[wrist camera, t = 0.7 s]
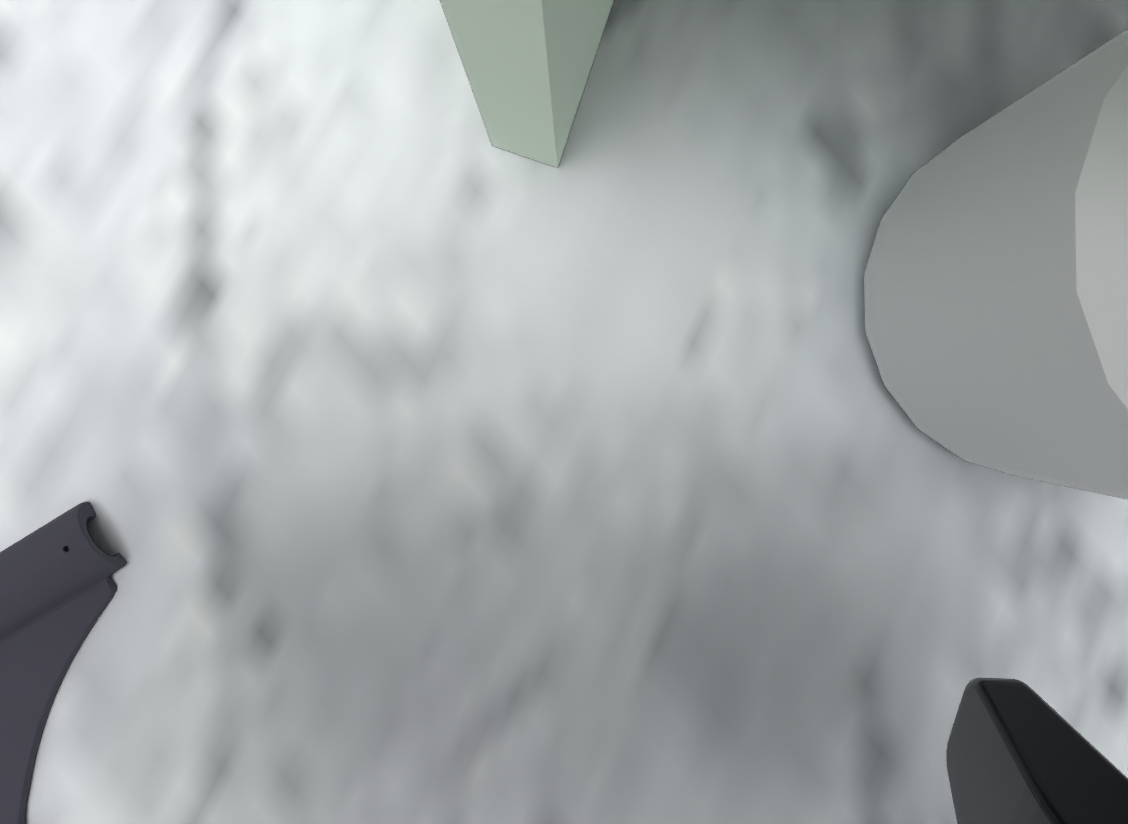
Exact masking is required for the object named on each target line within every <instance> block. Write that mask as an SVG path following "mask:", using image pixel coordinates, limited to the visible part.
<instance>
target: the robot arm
mask: <svg viewBox="0 0 1128 824" xmlns="http://www.w3.org/2000/svg"><path fill="white" fill-rule="evenodd" d="M946 759H947V770H948V776H949V781H950V787H951V792H952V797H953V803H954V808H955V814H956V819H957V824H1128V778H1127V777H1126V776H1125V775H1124V774H1123V773H1121V772H1120V771H1119V770H1118V769H1117V768H1116V767H1115V766H1114V765H1113V764H1112V763H1111V762H1110V761H1109V760H1107V759H1106V758H1105V757H1104V756H1103V755H1102V754H1101V753H1100V752H1099V751H1098V750H1097V749H1096V748H1095V747H1094V746H1092V745H1091V744H1090V743H1089V742H1088V741H1087V740H1086V739H1085V738H1084V737H1083V736H1082V735H1081V734H1080V733H1078V732H1077V731H1076V730H1075V729H1074V728H1073V727H1072V726H1071V725H1070V724H1069V723H1068V722H1067V721H1066V720H1064V719H1063V718H1062V717H1061V716H1060V715H1059V714H1058V713H1057V712H1056V711H1055V710H1054V709H1053V708H1052V707H1050V706H1049V705H1048V704H1047V703H1046V702H1045V701H1044V700H1043V699H1042V698H1041V697H1040V696H1039V695H1038V694H1036V693H1035V692H1034V691H1033V690H1032V689H1031V688H1030V687H1029V686H1028V685H1026V684H1025V683H1023V682H1021V681H1019V680H1016V679H1000V678H975V679H972V680H971V681H970V682H969V683H968V684H967V686H966V688H965V690H964V693H963V696H962V699H961V702H960V705H959V708H958V712H957V715H956V718H955V721H954V724H953V727H952V730H951V733H950V737H949V740H948V744H947V758H946Z"/></svg>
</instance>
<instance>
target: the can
mask: <svg viewBox="0 0 1128 824" xmlns="http://www.w3.org/2000/svg"><path fill="white" fill-rule="evenodd" d="M864 294H865V332H866V335H867V338H868V341H869V343H870V346H871V349H872V352H873V355H874V358H875V361H876V363H877V366H878V369H879V372H880V375H881V378H882V381H883V383H884V385H885V387H886V388H887V389H888V390H889V392H890V393H891V394H892V396H893V397H894V398H895V400H896V401H897V402H898V404H899V405H900V406H901V407H902V409H903V410H904V411H905V413H906V414H907V415H908V417H909V418H910V419H911V421H912V422H913V423H914V424H915V426H916V427H917V428H918V429H919V430H920V431H922V432H923V433H925V434H926V435H928V436H929V437H930V438H932V439H933V440H935V441H936V442H938V443H939V444H941V445H942V446H944V447H945V448H946V449H948V450H949V451H951V452H952V453H954V454H955V455H957V456H958V457H960V458H961V459H963V460H964V461H967V462H970V463H974V464H977V465H981V466H984V467H987V468H991V469H994V470H998V471H1001V472H1004V473H1008V474H1011V475H1015V476H1018V477H1023V478H1027V479H1032V480H1037V481H1042V482H1047V483H1051V484H1056V485H1061V486H1066V487H1071V488H1075V489H1080V490H1085V491H1090V492H1095V493H1099V494H1104V495H1109V496H1114V497H1119V498H1123V499H1128V29H1127V30H1125V31H1124V32H1122V33H1120V34H1119V35H1117V36H1116V37H1114V38H1113V39H1111V40H1110V41H1108V42H1107V43H1105V44H1104V45H1102V46H1100V47H1099V48H1097V49H1096V50H1094V51H1093V52H1091V53H1090V54H1088V55H1087V56H1085V57H1083V58H1082V59H1080V60H1079V61H1077V62H1076V63H1074V64H1073V65H1071V66H1070V67H1068V68H1067V69H1065V70H1063V71H1062V72H1060V73H1059V74H1057V75H1056V76H1054V77H1053V78H1051V79H1050V80H1048V81H1047V82H1045V83H1043V84H1042V85H1040V86H1039V87H1037V88H1036V89H1034V90H1033V91H1031V92H1030V93H1028V94H1026V95H1025V96H1023V97H1022V98H1020V99H1019V100H1017V101H1016V102H1014V103H1013V104H1011V105H1010V106H1008V107H1006V108H1005V109H1003V110H1002V111H1000V112H999V113H997V114H996V115H994V116H993V117H991V118H990V119H988V120H986V121H985V122H983V123H982V124H980V125H979V126H977V127H976V128H974V129H973V130H971V131H969V132H968V133H966V134H965V135H963V136H962V137H960V138H959V139H957V140H956V141H955V142H953V143H952V144H951V145H950V146H948V147H947V148H946V149H944V150H943V151H942V152H940V153H939V154H938V155H937V156H935V157H934V158H933V159H931V160H930V161H929V162H927V163H926V164H925V165H923V166H922V167H921V168H920V169H918V170H917V171H916V172H914V173H913V174H912V176H911V177H910V179H909V180H908V181H907V183H906V184H905V186H904V187H903V189H902V190H901V192H900V193H899V195H898V196H897V197H896V199H895V200H894V202H893V203H892V205H891V206H890V208H889V209H888V210H887V212H886V213H885V215H884V216H883V218H882V219H881V221H880V224H879V227H878V231H877V234H876V237H875V240H874V244H873V247H872V250H871V254H870V257H869V260H868V264H867V267H866V270H865V274H864Z"/></svg>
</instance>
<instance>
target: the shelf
mask: <svg viewBox="0 0 1128 824" xmlns="http://www.w3.org/2000/svg"><path fill="white" fill-rule="evenodd" d="M613 2H614V0H440V3H441V6H442V8H443V11H444V14H445V17H446V19H447V22H448V25H449V28H450V31H451V33H452V36H453V39H454V42H455V44H456V47H457V50H458V53H459V55H460V58H461V61H462V64H463V67H464V69H465V72H466V75H467V78H468V80H469V83H470V86H471V89H472V92H473V94H474V97H475V100H476V103H477V105H478V108H479V111H480V114H481V117H482V119H483V122H484V125H485V128H486V130H487V133H488V136H489V139H490V142H491V144H492V146H494V147H497V148H500V149H503V150H506V151H509V152H512V153H515V154H518V155H521V156H524V157H527V158H530V159H533V160H536V161H539V162H542V163H545V164H548V165H550V166H553V167H556V168H558V165H559V163H560V160H561V157H562V154H563V151H564V148H565V145H566V142H567V139H568V136H569V133H570V130H571V127H572V124H573V121H574V118H575V115H576V112H577V109H578V106H579V103H580V100H581V97H582V94H583V91H584V88H585V85H586V82H587V79H588V76H589V73H590V70H591V67H592V64H593V61H594V58H595V55H596V52H597V49H598V46H599V43H600V40H601V37H602V34H603V31H604V28H605V25H606V23H607V20H608V17H609V14H610V11H611V8H612V5H613Z"/></svg>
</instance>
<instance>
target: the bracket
mask: <svg viewBox="0 0 1128 824" xmlns="http://www.w3.org/2000/svg"><path fill="white" fill-rule="evenodd" d="M96 517H97V516H96V513H95V511H94V509H93V507H92V505H91V503H90V502H84V503H81V504H79V505H77V506H75V507H74V508H72V509H70V510H69V511H67V512H65V513H64V514H62V515H61V516H59V517H57V518H56V519H54V520H52V521H51V522H49V523H48V524H46V525H44V526H43V527H41V528H39V529H38V530H36V531H34V532H33V533H31V534H30V535H28V536H26V537H25V538H23V539H21V540H20V541H18V542H17V543H15V544H13V545H12V546H10V547H8V548H7V549H5V550H3V551H2V552H0V824H25V823H24V822H25V807H26V802H27V797H28V792H29V787H30V782H31V777H32V772H33V767H34V762H35V758H36V754H37V750H38V746H39V742H40V739H41V736H42V732H43V729H44V726H45V723H46V720H47V717H48V714H49V712H50V709H51V706H52V704H53V701H54V699H55V696H56V694H57V692H58V690H59V687H60V685H61V683H62V681H63V678H64V676H65V674H66V672H67V670H68V668H69V666H70V665H71V663H72V661H73V659H74V657H75V655H76V653H77V652H78V650H79V648H80V647H81V645H82V643H83V641H84V640H85V638H86V637H87V635H88V633H89V632H90V630H91V629H92V627H93V625H94V624H95V623H96V621H97V620H98V618H99V617H100V615H101V614H102V612H103V611H104V609H105V608H106V606H107V605H108V603H109V602H110V600H111V599H112V597H113V596H114V594H115V592H116V590H117V586H116V585H115V583H114V581H113V580H112V579H111V577H110V574H112V573H113V572H115V571H116V570H118V569H119V568H121V567H122V566H124V565H125V564H126V563H127V562H126V560H125V559H124V558H123V557H122V555H121V554H120V553H117V554H115V555H114V556H112V557H111V556H108V555H106V554H105V553H103V552H102V551H101V550H100V549H99V548H97V546H96V545H95V544H94V542H93V541H92V540H91V538H90V536H89V534H88V531H87V527H86V523H88V522H90V521H91V520H93V519H94V518H96Z"/></svg>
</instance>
